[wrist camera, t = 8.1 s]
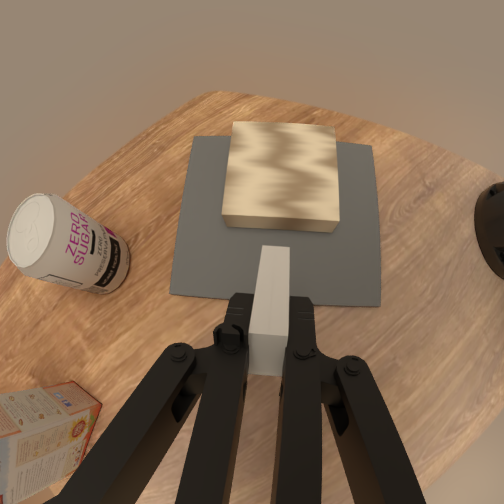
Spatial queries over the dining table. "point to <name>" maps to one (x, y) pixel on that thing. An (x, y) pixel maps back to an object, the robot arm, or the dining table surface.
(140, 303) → the dining table surface
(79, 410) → the cracker box
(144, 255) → the dining table surface
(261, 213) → the wooden block
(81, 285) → the supplement can
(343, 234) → the mat
